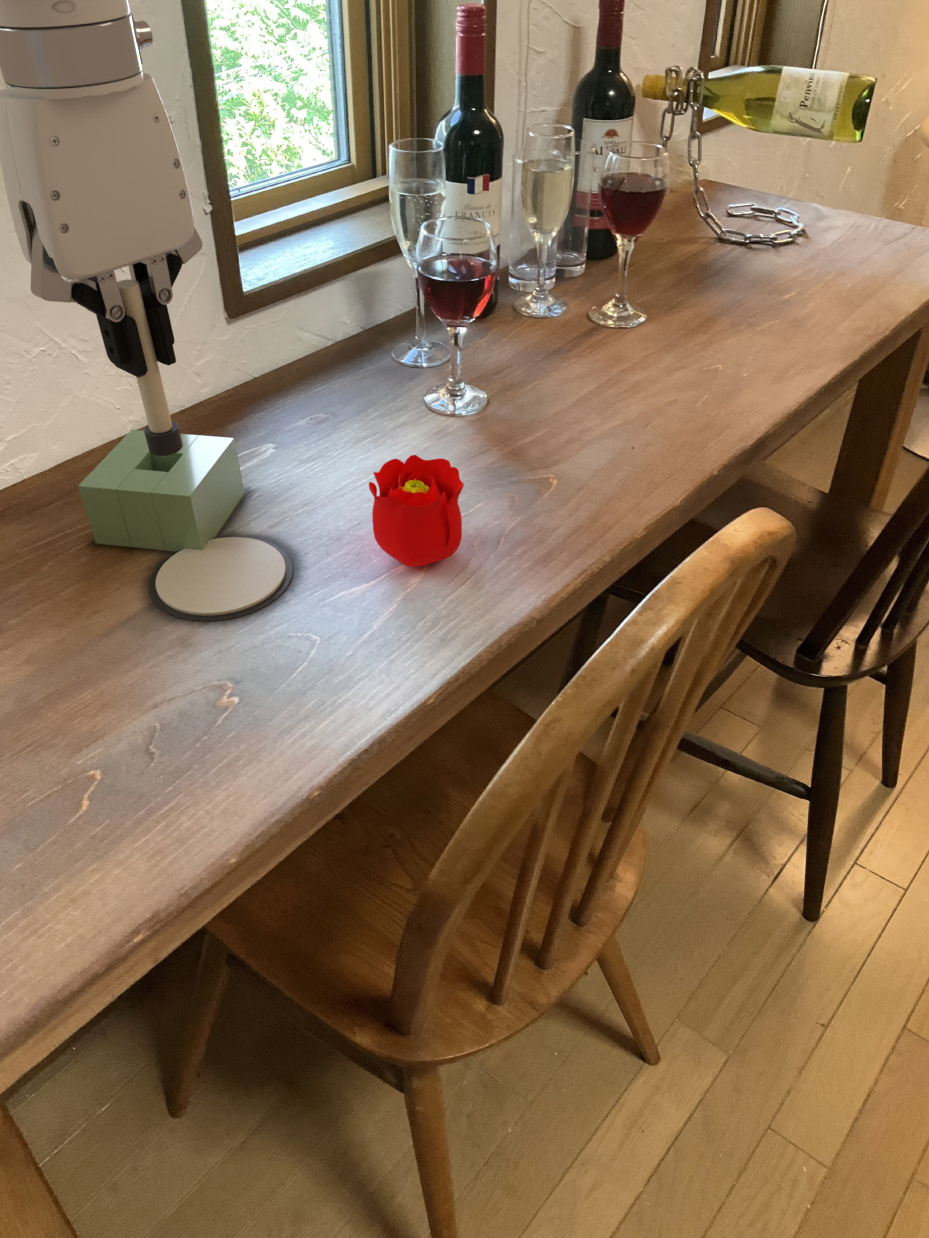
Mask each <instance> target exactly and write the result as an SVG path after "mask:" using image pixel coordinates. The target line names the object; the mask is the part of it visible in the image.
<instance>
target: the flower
mask: <svg viewBox="0 0 929 1238" xmlns="http://www.w3.org/2000/svg"><path fill="white" fill-rule="evenodd" d="M372 472H373V476H374V478H375V481H376V484H377V485H376V484H375V483H374V482H372V481H369V482H368V488H369V492H370V493H371V495H372V496H373V504H372V515H371V516H372V517H371V519H372V530H373V537H374V539H375V541H376V544H377V545H378V546H379V547H380V549H382V551H384V552H385V553H386V554H387V555H388V556H390V557H391V558H393V559H395V560H396V561H398V562H399V563H401V564H402V565H403V566H407V567H411V568H415V567H422V566H426V565H429V564H433V563H438V562H440V561H443V560H446V559H448V558H450V557H451V556H452V555H454V554H455V552H457V550H458V549H459V547H460V545H461V542H462V536H463V534H462V533H463V521H462V512H461V509H460V506H459V497H460V495H461V494H462V491H463V489H464V487H465V484H464V482H463V481H462V480H461V479H460V471H459V469H458V468H457V467H455V466H452V464H451V462H450V461H449V460H448V459H446V458H434V459H423V458H421V457H419V456H418V455H417V454H411V455H409V456H408V457H407V458H406V460H405V461H404V462H403V461H402V460H401V459H399V458H392V459H390V460H388V461H386V462H384V464H382V466H381V467H380V470H379V471H378V472H377V471H376V472H375V471H372ZM377 487H378V488H377ZM378 491H379V495H377V494H378Z"/></svg>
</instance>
